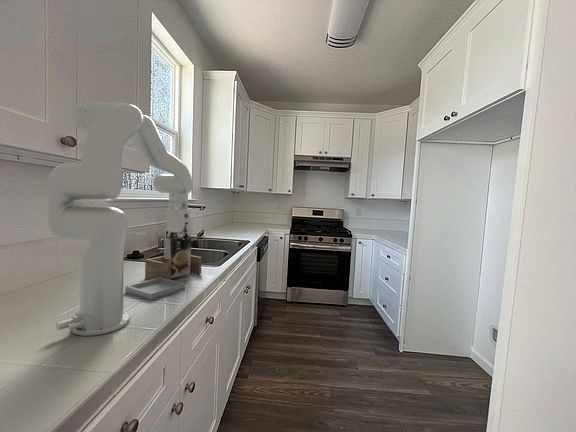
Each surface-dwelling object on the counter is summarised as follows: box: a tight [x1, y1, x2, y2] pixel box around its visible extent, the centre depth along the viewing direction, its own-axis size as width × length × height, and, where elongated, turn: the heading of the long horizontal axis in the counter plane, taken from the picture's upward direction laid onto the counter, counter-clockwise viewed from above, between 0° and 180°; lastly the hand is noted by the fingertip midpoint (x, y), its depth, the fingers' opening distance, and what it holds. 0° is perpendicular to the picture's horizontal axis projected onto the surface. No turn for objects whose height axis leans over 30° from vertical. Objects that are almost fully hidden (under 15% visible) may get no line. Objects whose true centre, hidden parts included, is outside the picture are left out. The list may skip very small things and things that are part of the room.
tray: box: [124, 277, 186, 302], centre depth 99 cm, size 14×14×2 cm
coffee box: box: [163, 236, 192, 279], centre depth 116 cm, size 9×6×16 cm
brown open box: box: [144, 254, 203, 280], centre depth 117 cm, size 17×14×8 cm
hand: (177, 247), depth 115 cm, fingers closed on coffee box, 6 cm apart
